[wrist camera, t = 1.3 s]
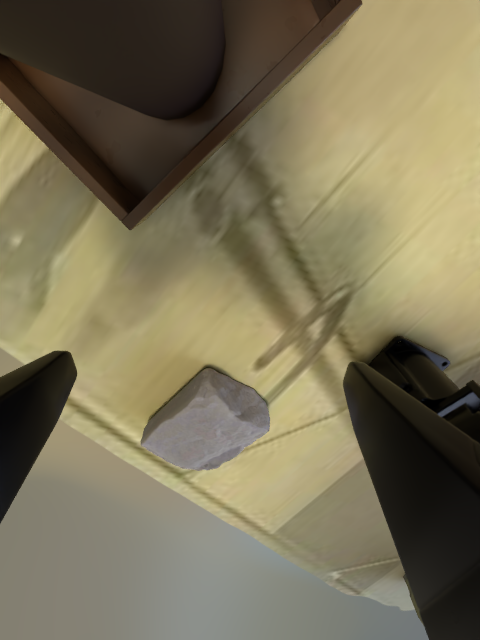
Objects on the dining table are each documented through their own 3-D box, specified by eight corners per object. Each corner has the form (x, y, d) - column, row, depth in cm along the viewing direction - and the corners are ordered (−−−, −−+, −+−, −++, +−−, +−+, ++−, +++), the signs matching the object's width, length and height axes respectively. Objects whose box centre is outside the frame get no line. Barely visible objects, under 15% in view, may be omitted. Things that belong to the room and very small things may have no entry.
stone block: (274, 390, 31) (201, 358, 26) (286, 431, 27) (203, 403, 22) (210, 438, 36) (138, 419, 31) (212, 478, 32) (131, 463, 27)
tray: (339, 31, 15) (363, 3, 12) (145, 220, 19) (129, 230, 17) (197, -298, 10) (183, -467, 7) (-9, 55, 15) (-64, 33, 12)
